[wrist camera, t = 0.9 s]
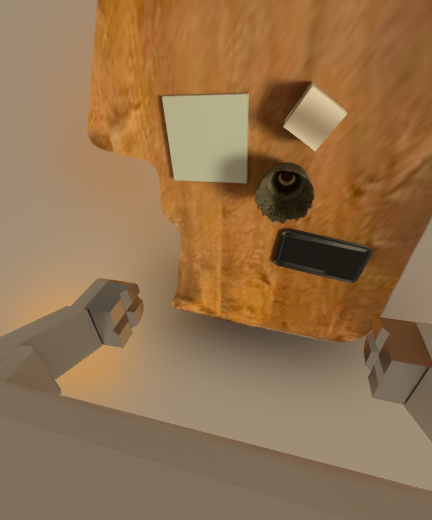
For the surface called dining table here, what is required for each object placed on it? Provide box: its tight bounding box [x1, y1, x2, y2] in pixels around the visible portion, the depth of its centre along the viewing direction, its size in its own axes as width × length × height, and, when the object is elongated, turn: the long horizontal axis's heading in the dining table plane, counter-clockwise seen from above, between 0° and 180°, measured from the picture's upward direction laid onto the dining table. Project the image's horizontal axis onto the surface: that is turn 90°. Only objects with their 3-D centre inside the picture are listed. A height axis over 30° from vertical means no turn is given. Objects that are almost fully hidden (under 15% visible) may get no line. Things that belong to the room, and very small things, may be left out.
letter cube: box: [283, 82, 347, 151], centre depth 35 cm, size 5×5×5 cm
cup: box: [256, 163, 314, 224], centre depth 39 cm, size 8×7×8 cm
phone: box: [274, 229, 373, 283], centre depth 49 cm, size 8×1×15 cm
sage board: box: [162, 93, 249, 183], centre depth 41 cm, size 12×12×1 cm
